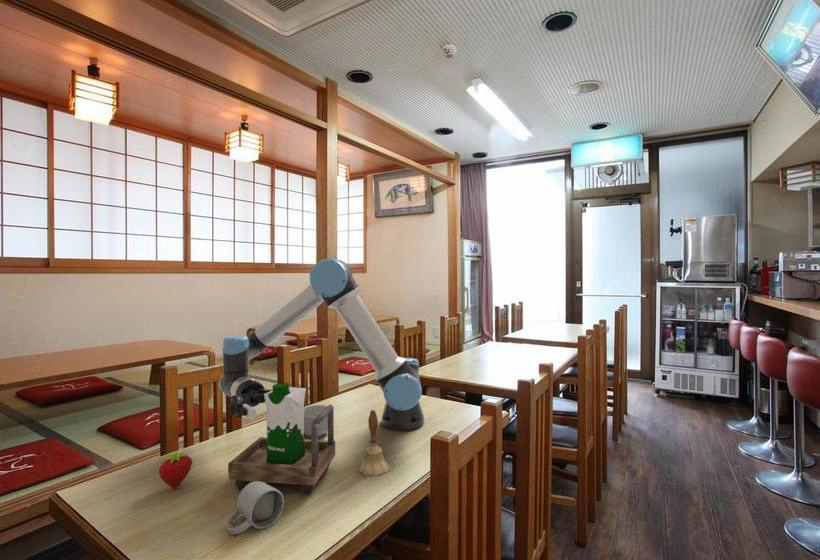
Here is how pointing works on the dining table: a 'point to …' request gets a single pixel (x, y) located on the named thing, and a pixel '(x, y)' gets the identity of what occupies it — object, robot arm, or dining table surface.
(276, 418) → the soya milk
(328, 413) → the walnut cart
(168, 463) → the strawberry
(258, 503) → the ceramic mug
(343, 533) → the dining table surface
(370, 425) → the hand bell
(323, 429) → the teacup
